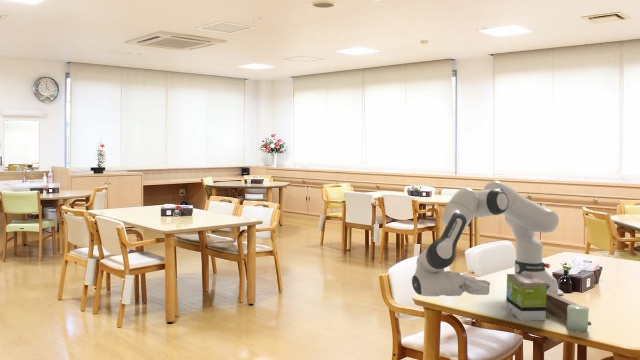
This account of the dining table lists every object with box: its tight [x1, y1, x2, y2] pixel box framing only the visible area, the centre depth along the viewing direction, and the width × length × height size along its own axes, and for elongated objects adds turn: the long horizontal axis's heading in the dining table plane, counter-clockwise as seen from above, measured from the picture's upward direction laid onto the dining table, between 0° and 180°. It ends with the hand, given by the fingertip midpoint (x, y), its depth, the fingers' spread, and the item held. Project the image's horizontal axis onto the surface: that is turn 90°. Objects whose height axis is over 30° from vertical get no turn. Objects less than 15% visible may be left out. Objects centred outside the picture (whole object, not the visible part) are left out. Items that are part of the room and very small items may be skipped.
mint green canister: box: [566, 304, 590, 333], centre depth 211 cm, size 7×7×8 cm
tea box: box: [505, 273, 547, 321], centre depth 227 cm, size 15×10×15 cm, turn 5°
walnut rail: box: [546, 291, 592, 325], centre depth 228 cm, size 7×24×7 cm, turn 13°
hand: (488, 283), depth 223 cm, fingers closed
